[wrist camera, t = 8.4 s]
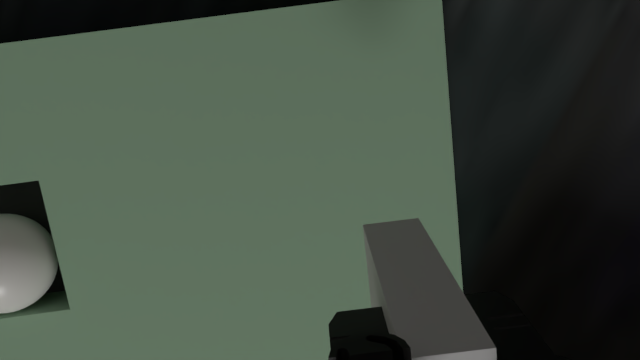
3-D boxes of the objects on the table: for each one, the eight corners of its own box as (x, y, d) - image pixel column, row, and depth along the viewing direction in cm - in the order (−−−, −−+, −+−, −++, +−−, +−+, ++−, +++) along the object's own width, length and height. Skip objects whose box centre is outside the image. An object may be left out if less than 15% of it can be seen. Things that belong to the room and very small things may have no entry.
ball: (-54, 212, 25) (-80, 244, 21) (50, 193, 26) (42, 221, 22) (-29, 298, 26) (-49, 343, 22) (69, 277, 27) (65, 316, 23)
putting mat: (-167, 34, 24) (-834, 27, 10) (423, -41, 24) (608, -152, 10) (-50, 409, 28) (-400, 789, 14) (453, 340, 28) (614, 640, 14)
